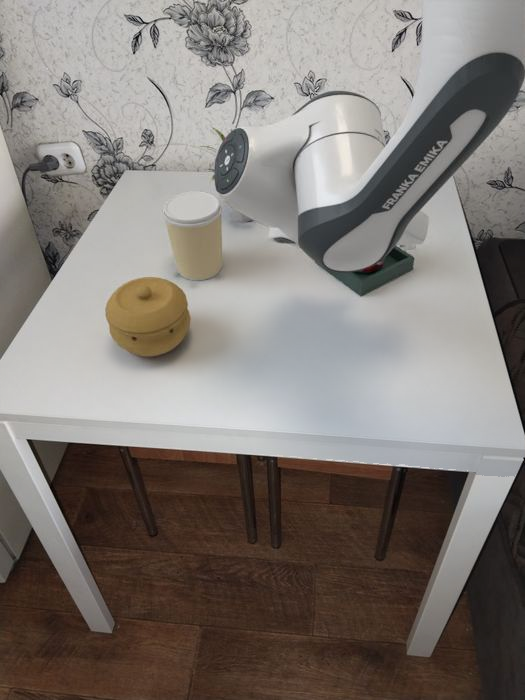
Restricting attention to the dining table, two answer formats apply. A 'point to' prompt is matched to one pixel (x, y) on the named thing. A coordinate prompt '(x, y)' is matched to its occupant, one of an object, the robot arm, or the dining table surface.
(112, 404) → the dining table surface
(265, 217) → the robot arm
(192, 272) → the coffee cup
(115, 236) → the dining table surface
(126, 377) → the dining table surface
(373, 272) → the dark green tray
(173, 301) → the pot
